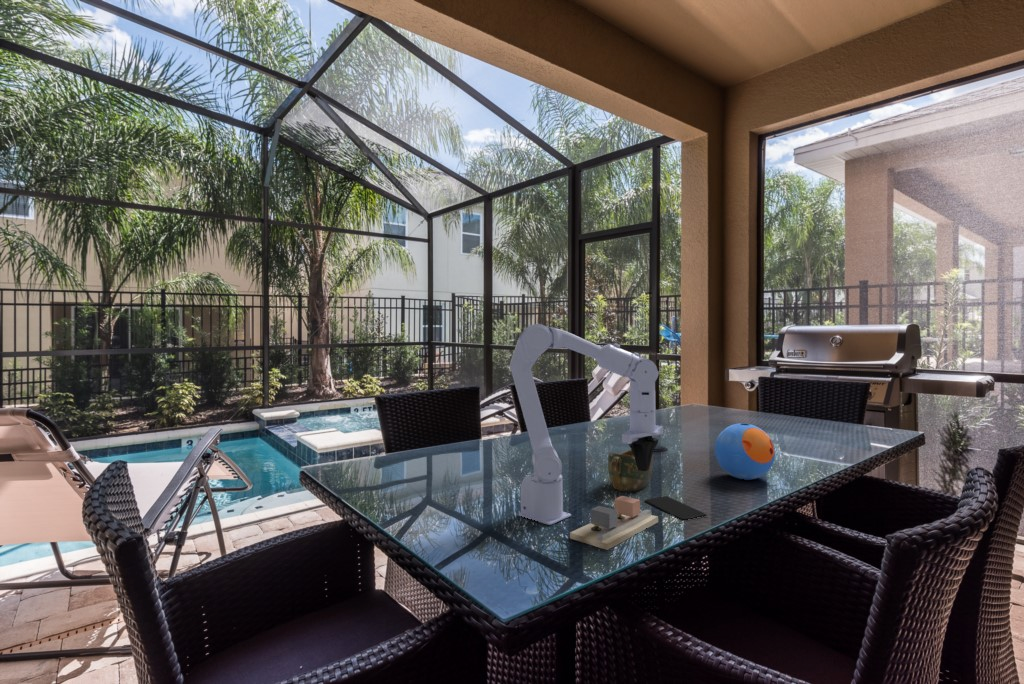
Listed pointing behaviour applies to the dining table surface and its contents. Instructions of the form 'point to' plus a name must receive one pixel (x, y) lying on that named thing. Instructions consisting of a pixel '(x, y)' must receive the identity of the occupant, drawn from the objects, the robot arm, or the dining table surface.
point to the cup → (627, 472)
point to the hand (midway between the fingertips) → (643, 470)
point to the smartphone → (675, 508)
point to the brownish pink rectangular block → (627, 506)
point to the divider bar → (623, 525)
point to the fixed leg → (604, 517)
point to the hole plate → (590, 536)
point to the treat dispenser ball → (744, 451)
